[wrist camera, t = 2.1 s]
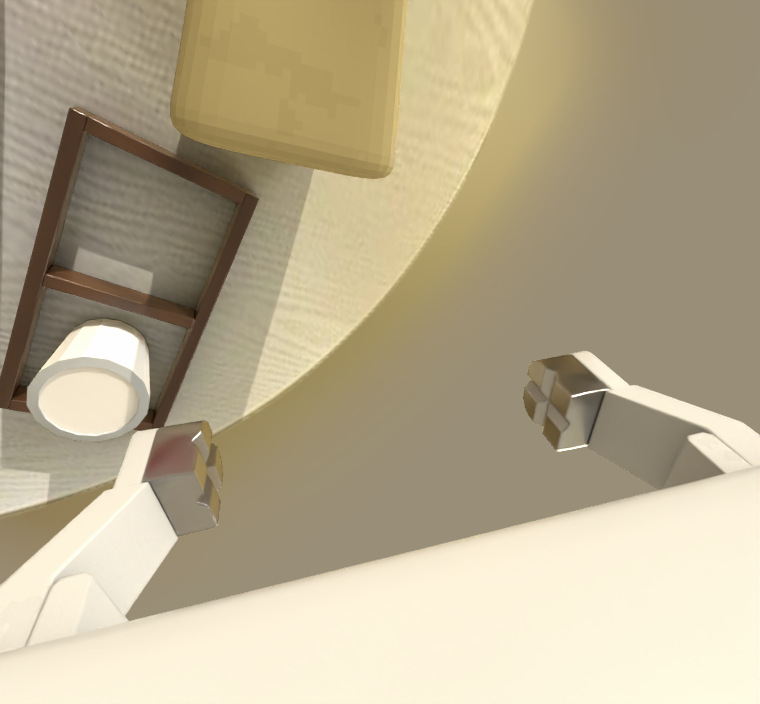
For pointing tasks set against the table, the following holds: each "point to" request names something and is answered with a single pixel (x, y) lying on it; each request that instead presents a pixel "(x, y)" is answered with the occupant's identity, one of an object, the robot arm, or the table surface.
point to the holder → (46, 274)
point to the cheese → (294, 81)
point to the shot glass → (93, 383)
